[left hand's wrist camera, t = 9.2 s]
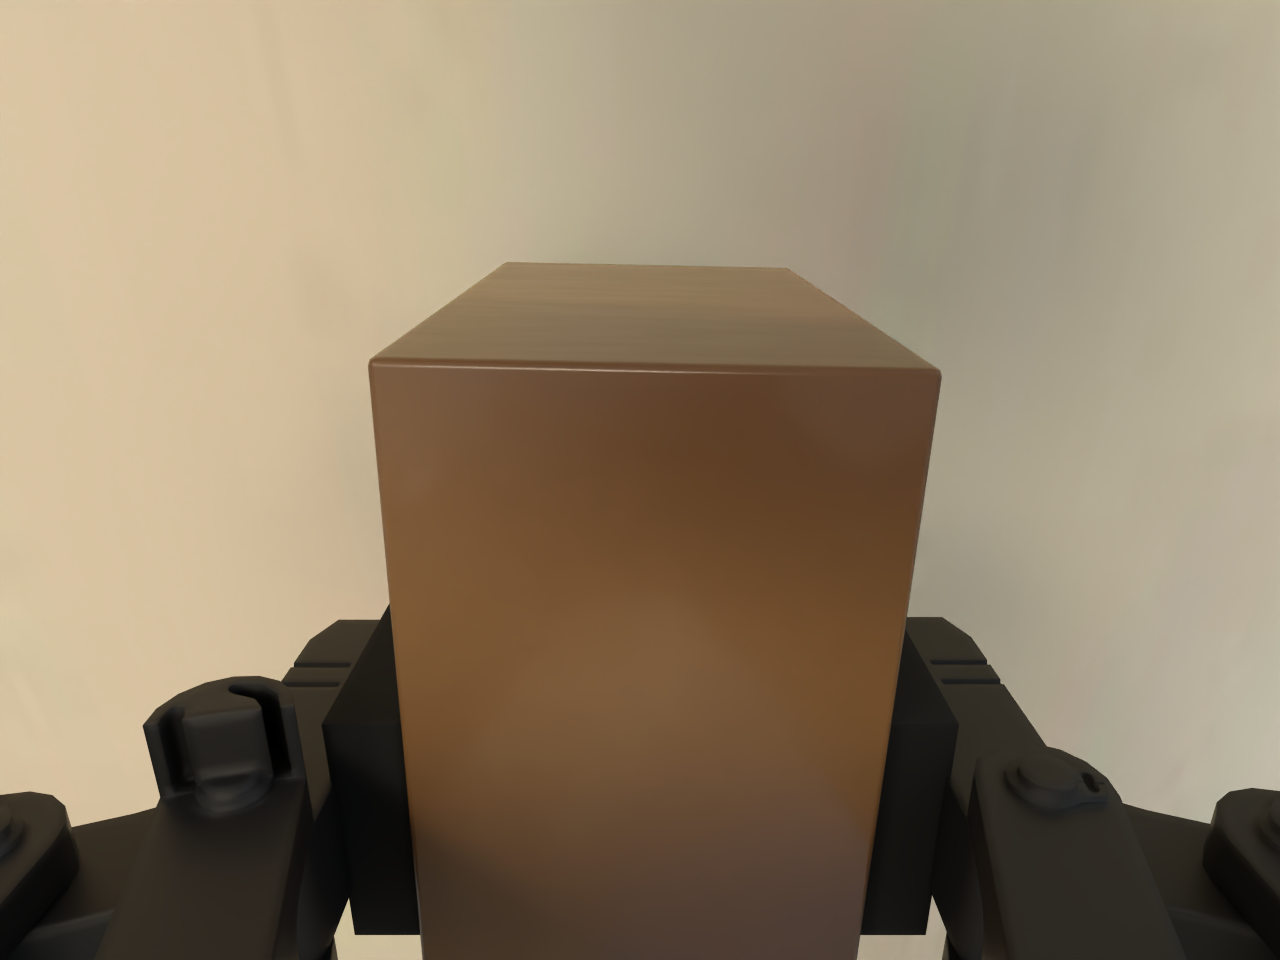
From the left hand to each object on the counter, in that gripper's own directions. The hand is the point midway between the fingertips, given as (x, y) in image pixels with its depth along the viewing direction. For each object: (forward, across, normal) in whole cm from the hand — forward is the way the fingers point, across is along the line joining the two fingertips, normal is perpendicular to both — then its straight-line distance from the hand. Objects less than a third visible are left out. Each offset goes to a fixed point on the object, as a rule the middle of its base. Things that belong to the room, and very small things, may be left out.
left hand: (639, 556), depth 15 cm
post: (0, 0, -25) cm, 25 cm away
